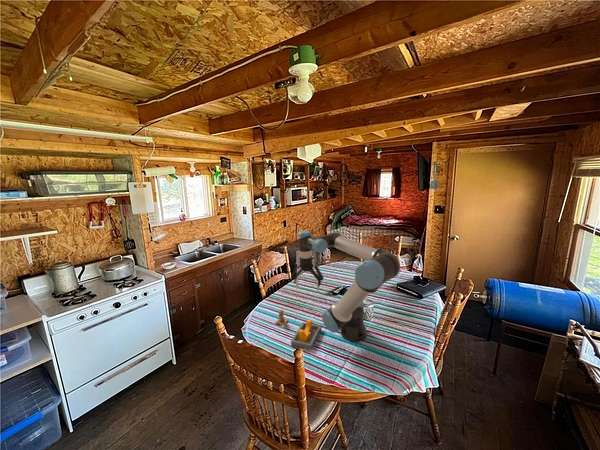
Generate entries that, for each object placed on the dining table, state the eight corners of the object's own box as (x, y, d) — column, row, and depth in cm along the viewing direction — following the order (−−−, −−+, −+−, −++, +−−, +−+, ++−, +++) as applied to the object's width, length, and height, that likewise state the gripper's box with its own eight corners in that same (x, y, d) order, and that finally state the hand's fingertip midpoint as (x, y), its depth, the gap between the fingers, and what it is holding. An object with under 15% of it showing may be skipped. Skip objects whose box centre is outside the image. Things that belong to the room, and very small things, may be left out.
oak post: (287, 320, 162) (287, 309, 160) (283, 325, 156) (283, 314, 155) (279, 318, 164) (278, 308, 162) (275, 324, 159) (274, 313, 157)
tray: (321, 330, 150) (321, 325, 149) (311, 350, 134) (311, 345, 133) (303, 326, 154) (302, 322, 154) (291, 345, 138) (290, 340, 138)
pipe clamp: (305, 343, 138) (305, 333, 137) (299, 341, 140) (298, 331, 139) (314, 330, 149) (314, 321, 147) (308, 328, 151) (307, 319, 149)
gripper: (327, 255, 146) (328, 288, 151) (288, 253, 154) (291, 284, 159) (324, 260, 139) (326, 294, 144) (284, 257, 147) (286, 289, 152)
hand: (307, 289), depth 151 cm, fingers open, 13 cm apart
